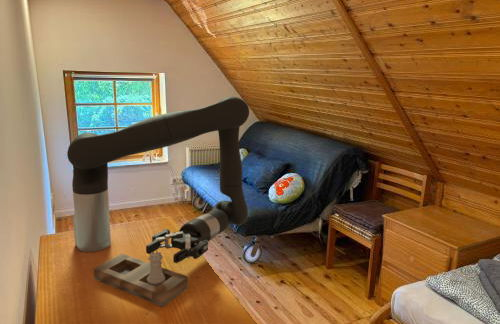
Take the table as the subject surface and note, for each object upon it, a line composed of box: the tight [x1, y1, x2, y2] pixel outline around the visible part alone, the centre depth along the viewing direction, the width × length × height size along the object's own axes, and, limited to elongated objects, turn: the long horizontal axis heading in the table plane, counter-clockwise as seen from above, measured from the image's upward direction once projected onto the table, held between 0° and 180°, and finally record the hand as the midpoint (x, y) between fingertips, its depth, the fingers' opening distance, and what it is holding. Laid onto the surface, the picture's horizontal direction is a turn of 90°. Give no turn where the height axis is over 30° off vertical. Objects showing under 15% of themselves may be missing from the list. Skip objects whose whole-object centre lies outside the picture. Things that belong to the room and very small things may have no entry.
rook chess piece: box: [147, 250, 165, 287], centre depth 86 cm, size 4×4×8 cm
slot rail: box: [93, 253, 189, 308], centre depth 89 cm, size 22×9×3 cm, turn 62°
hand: (160, 254), depth 87 cm, fingers open, 8 cm apart
